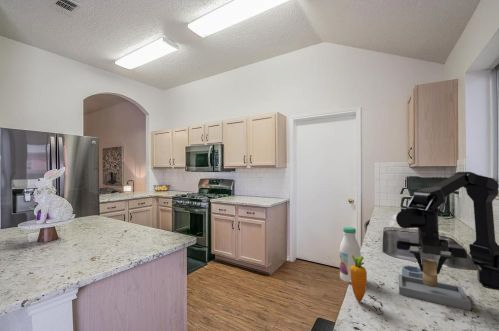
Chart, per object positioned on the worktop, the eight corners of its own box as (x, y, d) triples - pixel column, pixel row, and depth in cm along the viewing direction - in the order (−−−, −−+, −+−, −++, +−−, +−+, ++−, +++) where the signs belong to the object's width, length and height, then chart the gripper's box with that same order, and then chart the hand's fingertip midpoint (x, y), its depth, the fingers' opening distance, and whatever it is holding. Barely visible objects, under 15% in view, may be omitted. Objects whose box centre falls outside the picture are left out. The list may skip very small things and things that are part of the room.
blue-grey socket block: (424, 275, 93) (424, 268, 93) (426, 283, 86) (426, 274, 86) (401, 271, 97) (401, 264, 97) (402, 278, 90) (402, 270, 90)
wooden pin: (436, 283, 79) (435, 260, 79) (438, 288, 76) (437, 263, 76) (422, 280, 81) (421, 257, 82) (423, 285, 78) (422, 261, 78)
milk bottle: (360, 276, 92) (358, 226, 93) (362, 285, 85) (361, 230, 86) (339, 273, 95) (338, 225, 95) (340, 282, 87) (339, 229, 88)
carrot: (347, 298, 76) (346, 252, 76) (361, 297, 76) (360, 252, 77) (355, 306, 71) (354, 258, 72) (371, 306, 71) (369, 257, 72)
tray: (461, 293, 78) (461, 286, 78) (470, 310, 69) (470, 302, 69) (398, 280, 88) (398, 274, 88) (399, 294, 78) (399, 286, 78)
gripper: (396, 228, 78) (397, 275, 77) (470, 235, 68) (473, 289, 67) (396, 222, 87) (397, 264, 86) (461, 228, 77) (463, 275, 76)
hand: (429, 272), depth 79 cm, fingers closed on wooden pin, 4 cm apart
